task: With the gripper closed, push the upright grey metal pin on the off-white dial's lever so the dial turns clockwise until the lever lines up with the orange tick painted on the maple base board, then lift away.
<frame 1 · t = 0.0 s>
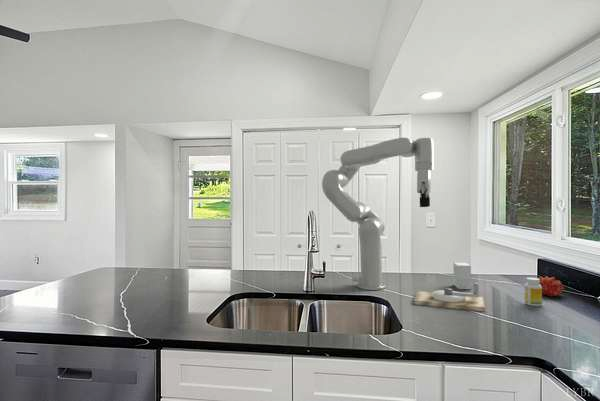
hand: (425, 206, 149), 37 cm above the worktop, tool pointing down, fingers open, 9 cm apart
supplement bottle: (533, 304, 130), on the worktop
dial: (454, 290, 133), point 5 cm above the worktop, hinge at 0.0°
small box: (462, 287, 156), on the worktop
dragon fruit: (549, 295, 141), on the worktop
stand base: (448, 302, 134), on the worktop
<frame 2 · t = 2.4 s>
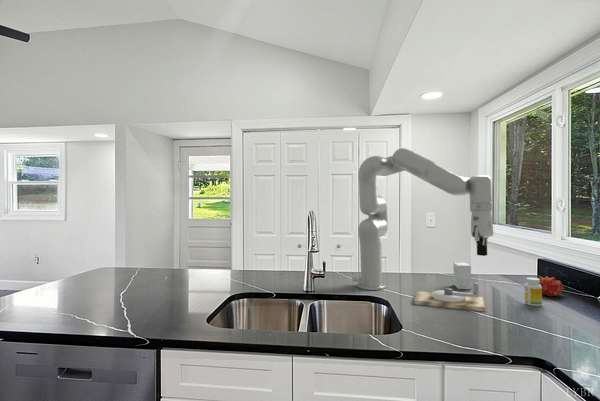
hand: (482, 255, 134), 18 cm above the worktop, tool pointing down, fingers closed
nothing on the worktop moved.
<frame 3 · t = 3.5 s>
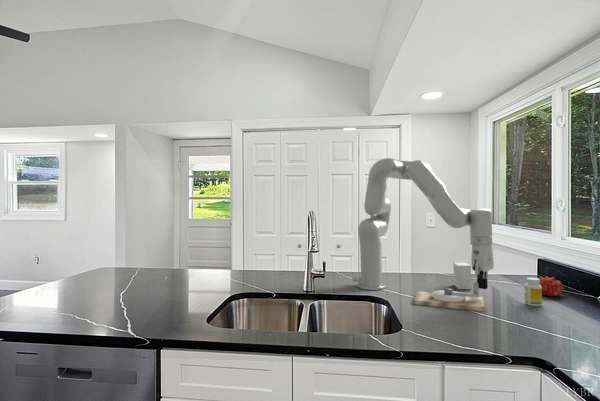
hand: (482, 288, 134), 5 cm above the worktop, tool pointing down, fingers closed
nothing on the worktop moved.
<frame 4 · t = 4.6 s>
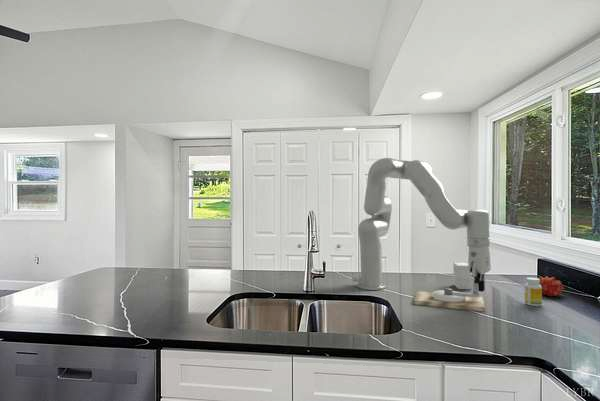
hand: (479, 290, 132), 5 cm above the worktop, tool pointing down, fingers closed
dial: (454, 290, 133), point 5 cm above the worktop, hinge at -1.2°, touching gripper
everything else where it was.
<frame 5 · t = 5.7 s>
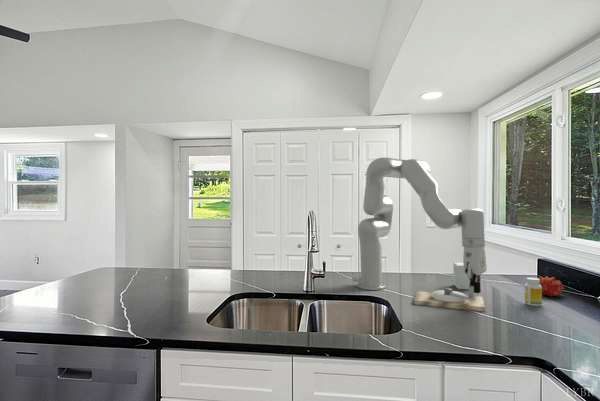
hand: (475, 292, 127), 5 cm above the worktop, tool pointing down, fingers closed
dial: (453, 290, 132), point 5 cm above the worktop, hinge at -35.0°, touching gripper
everything else where it was.
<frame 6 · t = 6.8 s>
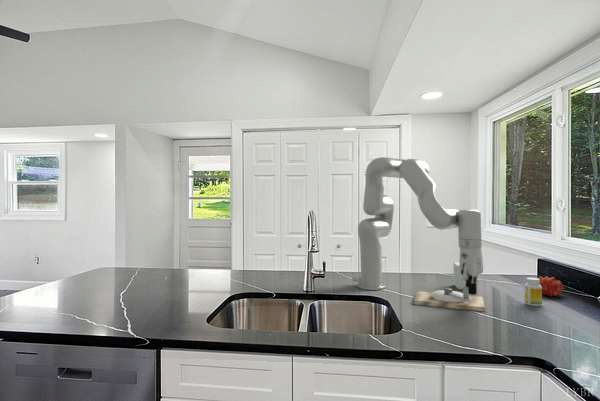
hand: (471, 293, 126), 5 cm above the worktop, tool pointing down, fingers closed
dial: (452, 291, 132), point 5 cm above the worktop, hinge at -50.5°, touching gripper
everything else where it was.
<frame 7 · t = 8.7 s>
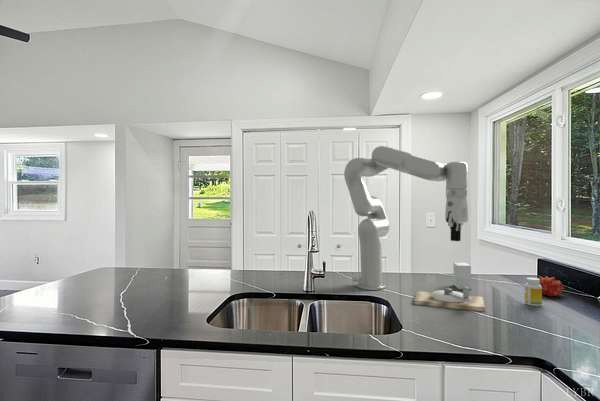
hand: (455, 240, 135), 24 cm above the worktop, tool pointing down, fingers closed
dial: (452, 291, 132), point 5 cm above the worktop, hinge at -50.6°
everything else where it was.
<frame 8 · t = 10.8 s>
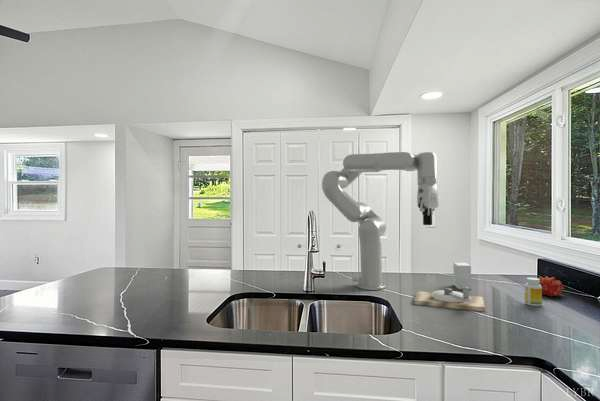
hand: (427, 224, 147), 29 cm above the worktop, tool pointing down, fingers closed
nothing on the worktop moved.
at the end: dial at -51° (first picture: +0°) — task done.
